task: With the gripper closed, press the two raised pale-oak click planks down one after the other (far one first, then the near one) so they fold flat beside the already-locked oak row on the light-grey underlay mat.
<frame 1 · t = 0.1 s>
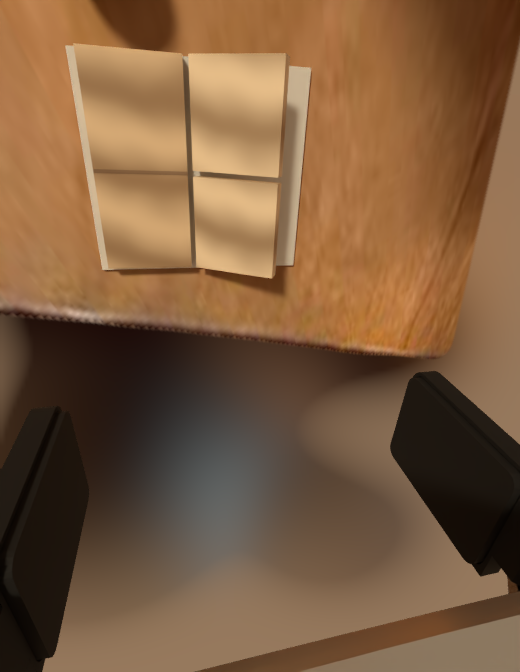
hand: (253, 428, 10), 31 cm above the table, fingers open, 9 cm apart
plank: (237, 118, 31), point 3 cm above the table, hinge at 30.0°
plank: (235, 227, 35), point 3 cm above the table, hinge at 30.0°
locked row: (142, 170, 34), resting on underlay mat
underlay mat: (199, 174, 35), on the table
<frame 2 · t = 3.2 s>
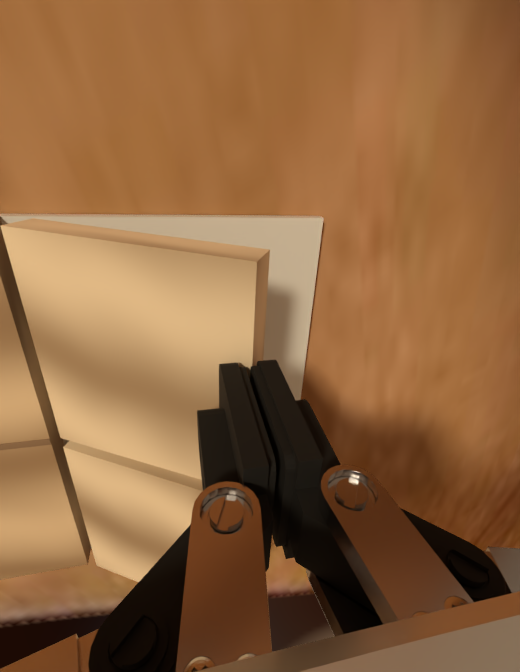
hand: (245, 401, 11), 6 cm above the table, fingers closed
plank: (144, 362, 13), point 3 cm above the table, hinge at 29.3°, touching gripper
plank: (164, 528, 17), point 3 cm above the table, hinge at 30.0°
underlay mat: (89, 416, 17), on the table
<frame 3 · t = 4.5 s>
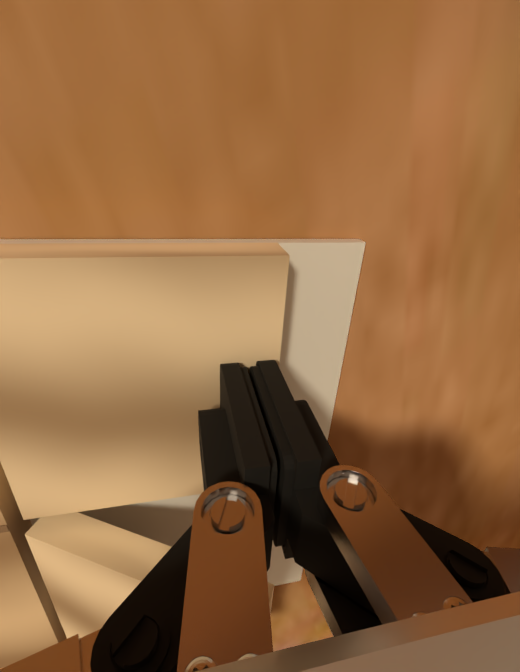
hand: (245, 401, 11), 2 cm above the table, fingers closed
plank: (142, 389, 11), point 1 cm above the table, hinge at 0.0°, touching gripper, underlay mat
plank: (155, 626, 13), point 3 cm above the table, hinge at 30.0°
underlay mat: (62, 485, 14), on the table
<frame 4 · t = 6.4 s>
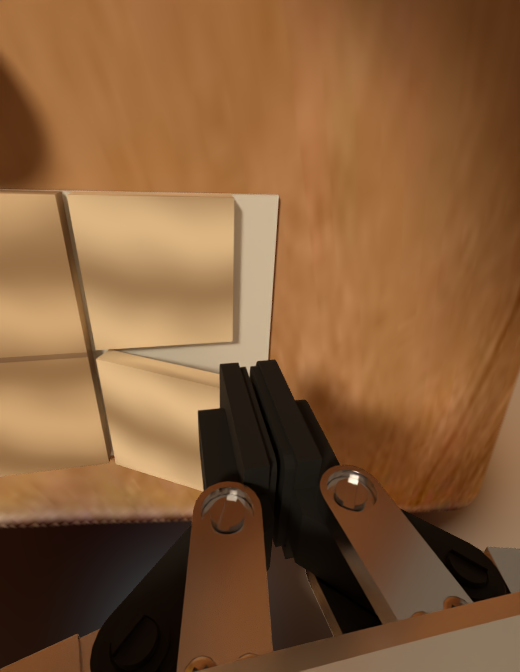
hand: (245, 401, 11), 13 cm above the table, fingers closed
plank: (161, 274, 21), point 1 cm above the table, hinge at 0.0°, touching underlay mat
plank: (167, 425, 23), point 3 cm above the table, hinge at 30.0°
locked row: (17, 348, 22), resting on underlay mat
underlay mat: (113, 343, 23), on the table
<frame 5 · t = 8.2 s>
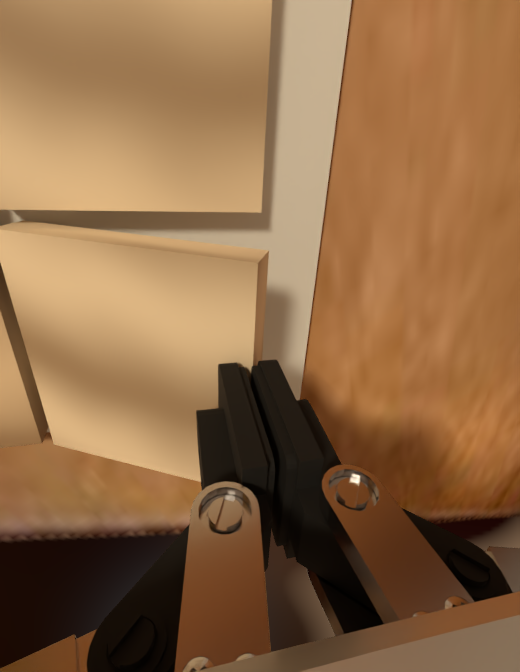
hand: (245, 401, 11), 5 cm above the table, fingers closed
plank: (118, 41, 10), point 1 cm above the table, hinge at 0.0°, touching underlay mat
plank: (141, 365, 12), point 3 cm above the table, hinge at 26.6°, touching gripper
underlay mat: (36, 216, 12), on the table
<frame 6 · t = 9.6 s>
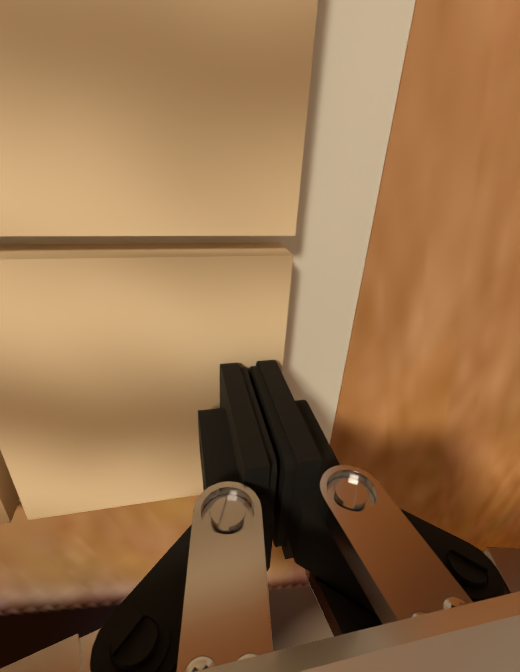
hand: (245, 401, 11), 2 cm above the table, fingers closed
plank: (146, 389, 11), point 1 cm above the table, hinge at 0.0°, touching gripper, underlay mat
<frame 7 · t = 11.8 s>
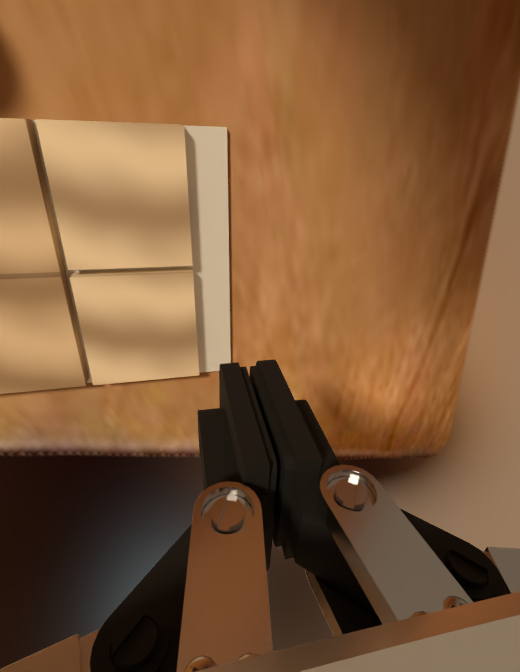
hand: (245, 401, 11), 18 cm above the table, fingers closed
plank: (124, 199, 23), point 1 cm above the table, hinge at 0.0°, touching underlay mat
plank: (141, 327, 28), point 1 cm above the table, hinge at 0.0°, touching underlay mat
underlay mat: (85, 270, 26), on the table
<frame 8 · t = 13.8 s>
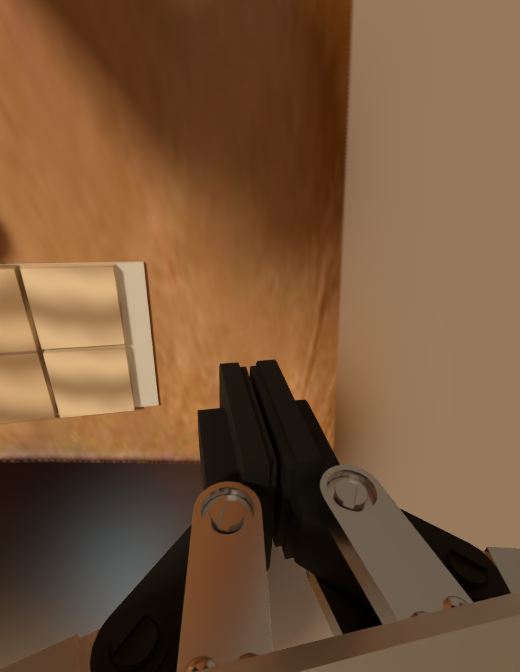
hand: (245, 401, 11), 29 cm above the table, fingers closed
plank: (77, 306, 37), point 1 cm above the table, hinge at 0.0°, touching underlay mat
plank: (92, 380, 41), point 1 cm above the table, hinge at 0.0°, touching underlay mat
underlay mat: (54, 345, 39), on the table
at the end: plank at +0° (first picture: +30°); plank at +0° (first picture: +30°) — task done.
